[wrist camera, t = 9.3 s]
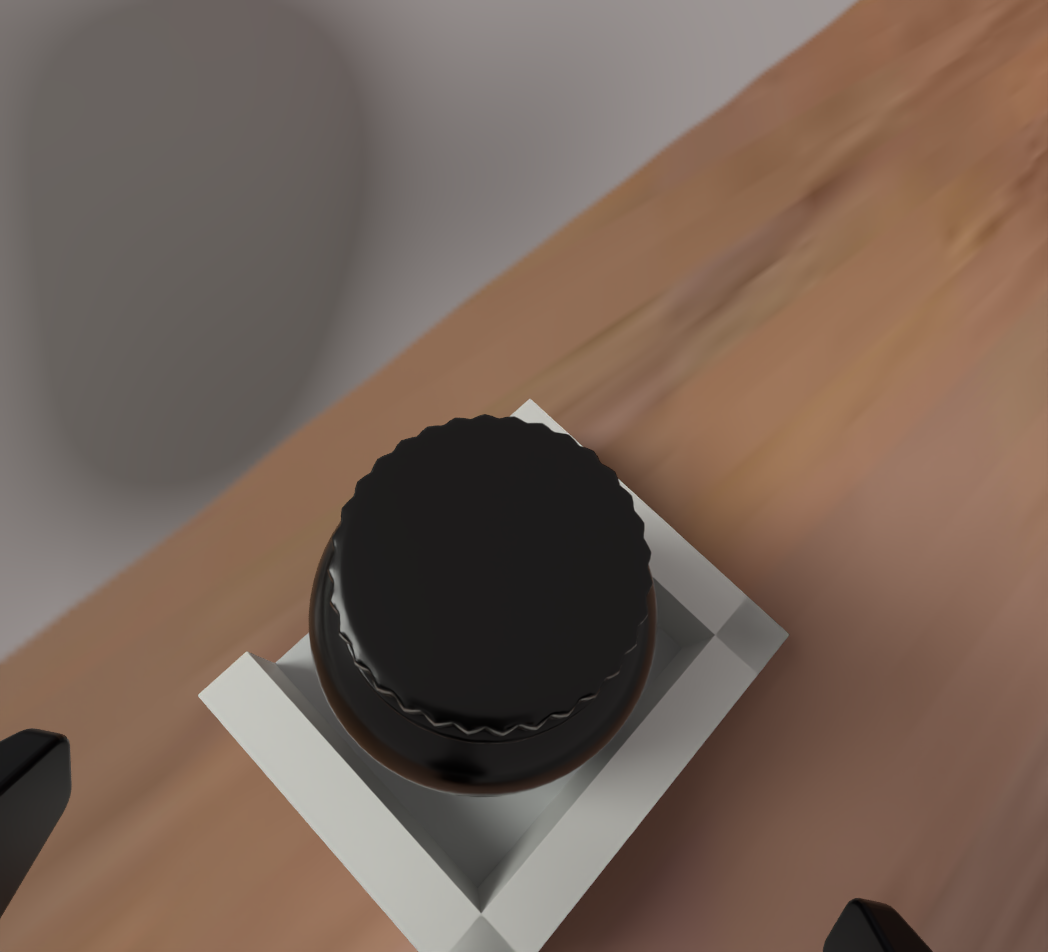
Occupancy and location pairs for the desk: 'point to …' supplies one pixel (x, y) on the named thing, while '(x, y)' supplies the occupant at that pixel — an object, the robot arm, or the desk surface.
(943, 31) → the desk surface
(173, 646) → the desk surface
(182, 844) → the desk surface
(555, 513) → the supplement bottle
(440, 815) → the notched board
